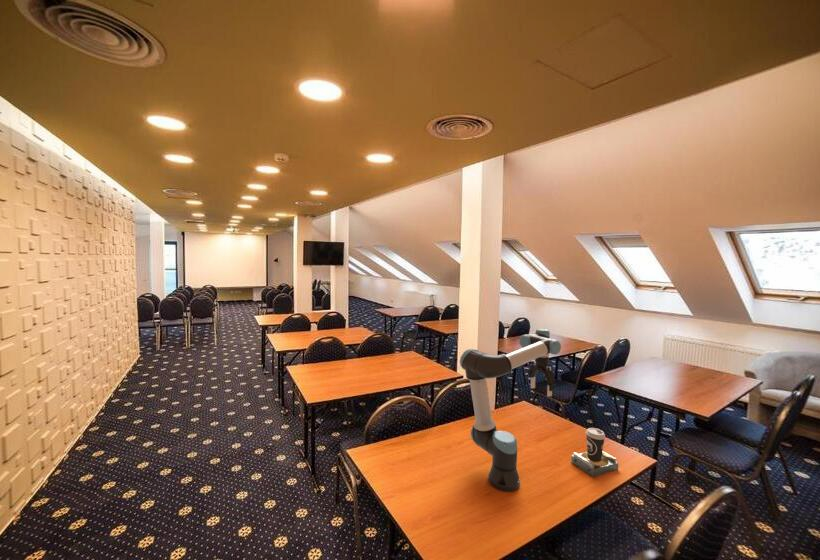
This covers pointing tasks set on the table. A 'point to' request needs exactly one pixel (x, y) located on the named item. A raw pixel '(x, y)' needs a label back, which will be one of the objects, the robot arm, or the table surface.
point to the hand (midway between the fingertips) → (540, 392)
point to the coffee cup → (595, 444)
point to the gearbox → (595, 464)
